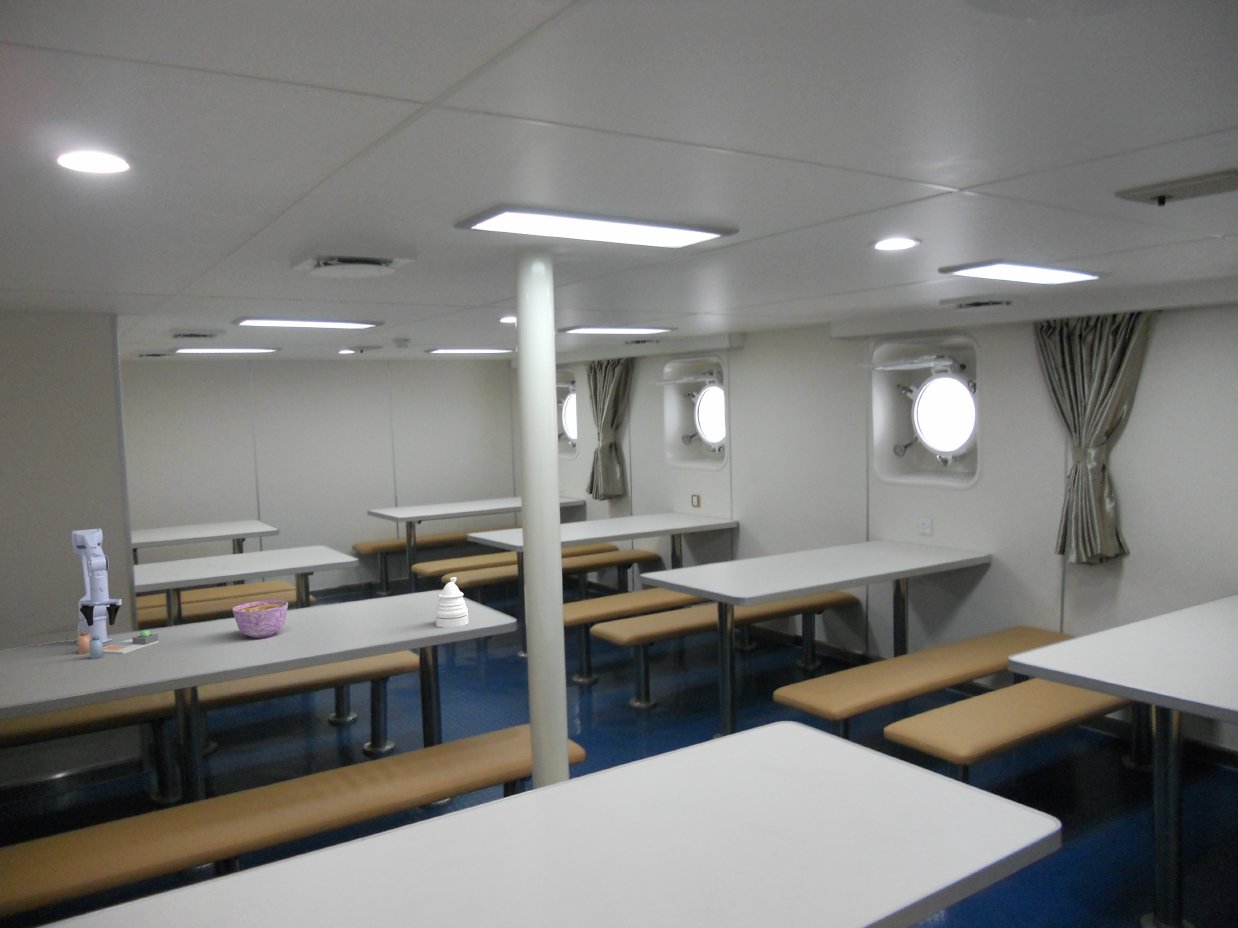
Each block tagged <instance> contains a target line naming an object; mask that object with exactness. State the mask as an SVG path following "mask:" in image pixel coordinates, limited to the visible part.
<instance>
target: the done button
mask: <svg viewBox="0 0 1238 928" xmlns="http://www.w3.org/2000/svg"><path fill="white" fill-rule="evenodd" d="M150 631H151V630H150V629H144V630H140V635H141V637H148V636H150V634H151V632H150Z"/></svg>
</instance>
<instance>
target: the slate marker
mask: <svg viewBox="0 0 1238 928" xmlns="http://www.w3.org/2000/svg"><path fill="white" fill-rule="evenodd" d="M89 645H90V653H89V657H90V660H98V659H103V658H104V657H105V656H104V653H103V647H104V643H103V640H102V638H99V636H95V637H92V640H89Z"/></svg>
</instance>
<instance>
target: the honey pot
mask: <svg viewBox="0 0 1238 928" xmlns="http://www.w3.org/2000/svg"><path fill="white" fill-rule="evenodd" d="M449 579H450V581H449V582H447V583H446V584H445V586H444V587H443V589H442V591H441V592H440V593H439V594H438V595H437V597H438V598H439V600H438V601H437V606H436V609H435V611H434V612H435V615H434V616H435V627H438V628H445V629H446V628H457V626H459V627H463V626H466V625H468V624H469V609H468V607H467V605H466V601H465V600H464V593H463V592H462V591H461V590H460V589H459V587H458V585H456V582H457V577H456V576H455V577H449ZM465 624H466V625H465ZM462 625H463V626H462Z"/></svg>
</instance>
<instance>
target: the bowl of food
mask: <svg viewBox="0 0 1238 928" xmlns="http://www.w3.org/2000/svg"><path fill="white" fill-rule="evenodd" d="M288 606H289V602H288V601H285V600H260V601H252V602H248V603H247V602H246V603H242V604H239V605H237V606H234V607H232V613H233V616H234V619H235V623H236V625H237V628H238V630H239V631H240V632H241V634H243V635H246V636H248V637H250V638H252V639H260V638H267V637H271V636H273V635H274V633H277V632H279V630H281V629H282V628H283V626H284V625H285V622H286V619H287V618H286V617H287V611H288Z"/></svg>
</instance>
